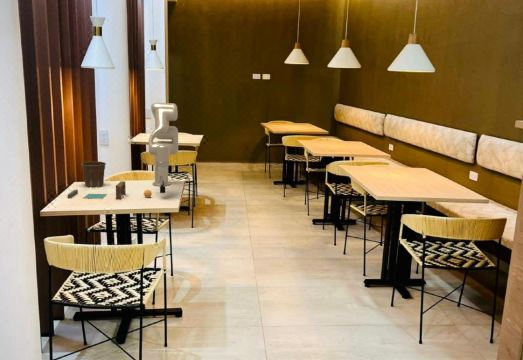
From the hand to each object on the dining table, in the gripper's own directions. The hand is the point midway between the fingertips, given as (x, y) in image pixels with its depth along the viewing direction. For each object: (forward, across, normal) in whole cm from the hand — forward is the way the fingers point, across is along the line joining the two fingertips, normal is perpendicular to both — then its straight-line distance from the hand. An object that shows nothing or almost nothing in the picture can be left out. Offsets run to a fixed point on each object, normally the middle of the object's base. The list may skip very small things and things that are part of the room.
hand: (162, 192), depth 314 cm
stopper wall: (+3, 0, -57) cm, 57 cm away
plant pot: (+3, -32, -52) cm, 61 cm away
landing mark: (+3, 0, -43) cm, 43 cm away
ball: (+1, 0, -10) cm, 10 cm away
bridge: (+3, 0, -27) cm, 27 cm away
